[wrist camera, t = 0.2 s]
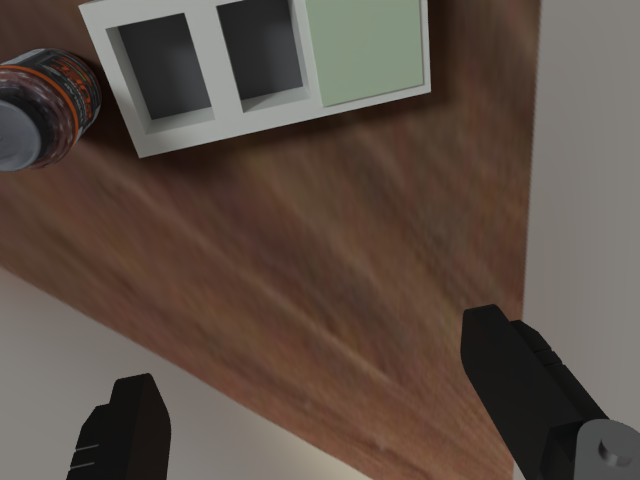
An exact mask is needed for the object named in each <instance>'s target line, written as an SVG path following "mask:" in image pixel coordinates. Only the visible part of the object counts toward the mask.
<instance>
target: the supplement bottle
mask: <svg viewBox="0 0 640 480" xmlns="http://www.w3.org/2000/svg"><path fill="white" fill-rule="evenodd" d="M101 103H102V93H101V88H100V85H99V82H98V80H97V78H96V76H95V74H94V73H93V71H92V70H91V69H90V68H89V67H88V66H87V65H86V64H85V63H84V62H83V61H82V60H81V59H79V58H78V57H76V56H75V55H73V54H71V53H69V52H66V51H64V50H61V49H56V48H39V49H34V50H31V51H28V52H26V53H24V54H22V55H20V56H17V57H15V58H13V59H11V60H8V61H6V62H4V63H2V64H0V171H5V172H12V171H19V170H34V169H41V168H45V167H48V166H51V165H53V164H55V163H56V162H58V161H59V160H61V159H62V158H63V157H64V156H65V155H66V154H67V153H68V152H69V151H70V150H71V148H72V147H73V146H74V145H75V143H76V142H77V141H78V140H79V139H80V138H81V136H82V135H83V134H84V132H85V131H86V130H87V129H88V128H89V126H90V125H91V124H92V123H93V121H94V120H95V119H96V117H97V115H98V113H99V111H100V108H101Z"/></svg>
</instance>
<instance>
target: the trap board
mask: <svg viewBox="0 0 640 480" xmlns="http://www.w3.org/2000/svg"><path fill="white" fill-rule="evenodd" d="M79 9H80V11H81V14H82V16H83V19H84V21H85V24H86V26H87V29H88V31H89V34H90V36H91V39H92V41H93V44H94V46H95V49H96V51H97V54H98V56H99V59H100V61H101V64H102V66H103V69H104V71H105V74H106V76H107V79H108V81H109V84H110V86H111V89H112V91H113V94H114V96H115V99H116V101H117V104H118V106H119V109H120V111H121V114H122V116H123V119H124V121H125V124H126V126H127V129H128V131H129V134H130V136H131V139H132V141H133V144H134V146H135V149H136V151H137V154H138V156H139V158H142V157H147V156H151V155H156V154H160V153H164V152H169V151H173V150H178V149H182V148H186V147H191V146H195V145H200V144H204V143H208V142H213V141H217V140H222V139H226V138H230V137H235V136H239V135H244V134H248V133H252V132H257V131H261V130H266V129H270V128H274V127H279V126H283V125H288V124H292V123H296V122H301V121H305V120H310V119H314V118H318V117H323V116H327V115H332V114H336V113H340V112H345V111H349V110H354V109H358V108H362V107H367V106H371V105H376V104H380V103H384V102H389V101H393V100H398V99H402V98H406V97H411V96H415V95H420V94H424V93H428V92H431V83H430V58H429V33H428V8H427V0H94V1H91V2H88V3H85V4H82V5H79Z"/></svg>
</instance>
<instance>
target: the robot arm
mask: <svg viewBox="0 0 640 480" xmlns="http://www.w3.org/2000/svg"><path fill="white" fill-rule="evenodd" d="M460 353H461V360H462V364H463V367H464V370H465V372H466V374H467V376H468V378H469V380H470V382H471V383H472V385H473V387H474V389H475V391H476V392H477V394H478V396H479V398H480V399H481V401H482V403H483V405H484V407H485V408H486V410H487V412H488V414H489V415H490V417H491V419H492V421H493V422H494V424H495V426H496V428H497V430H498V431H499V433H500V435H501V437H502V438H503V440H504V442H505V444H506V445H507V447H508V449H509V451H510V453H511V454H512V456H513V458H514V460H515V461H516V463H517V465H518V467H519V468H520V470H521V472H522V474H523V476H524V477H525V479H526V480H640V433H639V432H637V431H636V430H634V429H633V428H631V427H630V426H627V425H625V424H623V423H620V422H617V421H614V420H610V419H609V418H608V417H607V416H606V415H605V413H604V412H603V411H602V410H601V409H600V407H599V406H598V405H597V404H596V403H595V401H594V400H593V399H592V398H591V396H590V395H589V394H588V393H587V391H586V390H585V389H584V388H583V386H582V385H581V384H580V383H579V382H578V380H577V379H576V378H575V377H574V376H573V374H572V373H571V372H570V370H569V369H568V368H567V367H566V366H565V365H563V364H562V361H561V359H560V358H559V357H558V356H557V354H556V353H555V352H554V351H552V350H551V347H550V346H549V345H548V344H547V342H546V341H545V340H544V339H543V337H542V336H541V335H540V334H539V332H537V331H536V330H534V329H533V328H531V327H530V326H528V325H527V324H525V323H524V322H522V321H521V320H516V321H511V322H509V320H508V319H507V318H506V316H505V315H504V314H503V312H502V311H501V310H500V309H499V307H498V306H497V305H495V304H491V305H486V306H481V307H476V308H471V309H466V310H465V311H464V313H463V323H462V336H461V349H460ZM170 442H171V424H170V418H169V414H168V411H167V408H166V406H165V404H164V402H163V399H162V397H161V395H160V393H159V390H158V388H157V386H156V384H155V381H154V379H153V377H152V375H151V374H149V373H146V374H141V375H136V376H131V377H126V378H121V379H118V380H116V382H115V384H114V387H113V390H112V394H111V398H110V402H109V404H105V405H100V406H96V407H95V409H94V410H93V412H92V413H91V415H90V416H89V418H88V419H87V420H86V422H85V423H84V424H83V426H82V428H81V431H80V435H79V438H78V441H77V445H76V448H75V449H76V452H75V453H74V455H73V458H72V462H71V465H70V467H71V470H70V471H69V472H68V475H67V479H66V480H166V478H167V469H168V459H169V451H170Z"/></svg>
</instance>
